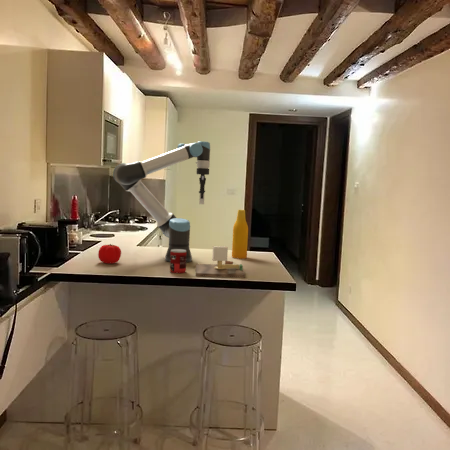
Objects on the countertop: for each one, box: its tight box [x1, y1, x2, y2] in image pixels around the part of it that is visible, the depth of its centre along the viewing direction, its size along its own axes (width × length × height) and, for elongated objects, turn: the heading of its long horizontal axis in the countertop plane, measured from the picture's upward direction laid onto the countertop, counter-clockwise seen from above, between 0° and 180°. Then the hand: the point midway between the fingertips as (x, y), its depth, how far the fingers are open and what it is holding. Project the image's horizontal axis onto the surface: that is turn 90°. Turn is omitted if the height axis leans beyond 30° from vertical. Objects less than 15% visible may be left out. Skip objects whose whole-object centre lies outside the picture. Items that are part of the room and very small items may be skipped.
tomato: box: [97, 243, 122, 265], centre depth 251 cm, size 12×12×10 cm
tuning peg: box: [212, 245, 240, 269], centre depth 241 cm, size 5×14×11 cm, turn 102°
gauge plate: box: [195, 260, 246, 279], centre depth 240 cm, size 24×24×4 cm
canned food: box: [169, 249, 187, 274], centre depth 236 cm, size 8×8×11 cm
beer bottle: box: [231, 209, 249, 260], centre depth 284 cm, size 9×9×29 cm
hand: (201, 203), depth 282 cm, fingers open, 13 cm apart
